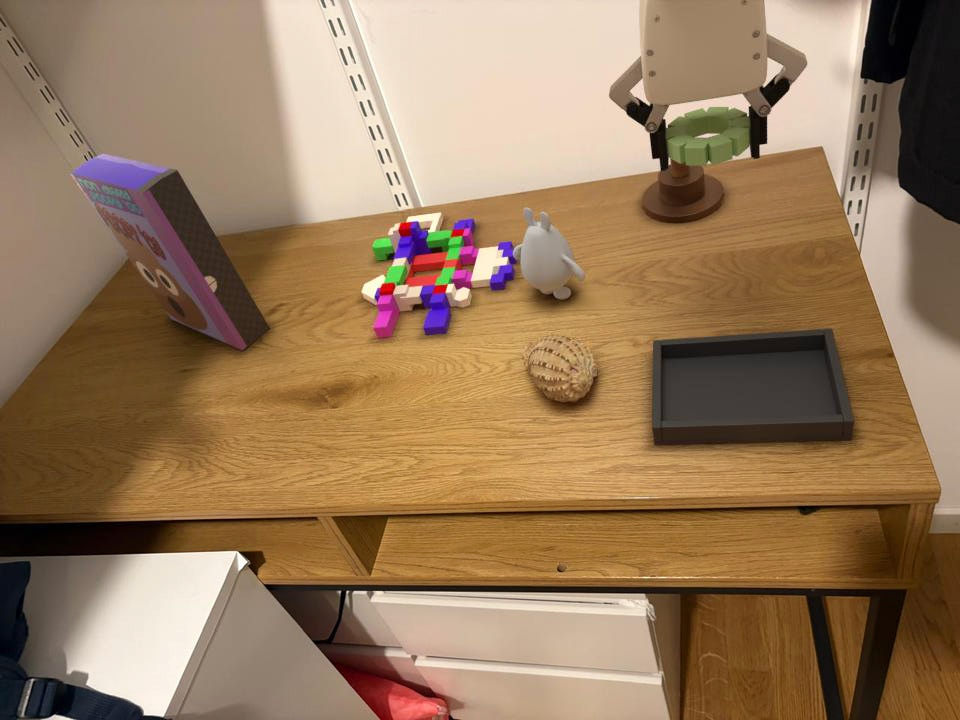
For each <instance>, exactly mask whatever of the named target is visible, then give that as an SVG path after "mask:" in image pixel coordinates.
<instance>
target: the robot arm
mask: <svg viewBox="0 0 960 720" xmlns="http://www.w3.org/2000/svg"><path fill="white" fill-rule="evenodd" d="M638 5H639V6H638V7H639V8H638V17H639V19H638V20H639V22H638V23H639V24H638V25H639V45H640V47H639V48H640V49H639V50H640V56H639V57H638V58H637V59H635V61H634V62H633V63H632V64H631V65H630V66H629V67H628V68H627V69H626V70H625V71H624V72H623V73H622V74H621V75H620V76H619V77H618V78H617V79H616V80H615V81H614V82H613V83H612V84H611V85H610V87H609V93H608V97H609V100H611V102H613V103H614V104H616V105H617V106H618V107H619V108H620V109H621V110H623V111H624V112H625V113H626V115H627V116H628V117H629V118H630V119H632V120H633V121H635V122H636V123H638V124H639V125H641V126H642V127H643V128H644V130H645V131H646V132H647V133H648V134H649V135H648V136H649V142H650V143H649V144H650V151H651V159H652V160H659V169H660V171H666V169H668V168H669V165H670V164H669V161H670V158H669V155H667V146H666V128H667V122H666V118H664V117H665V116H666V113H667V111H668V109H669V107H670V106H673V105H674V106H675V105H681V104H688V103H695V102H700V101H701V102H702V101H707V100H712V99H719V98H726V97H732V96H738V95H742V96H743V97H744V98H745V99H746V101H747V103H749V105H748V116H749V119H750V131H751V143H749V151H750V158H751V159H753V160H758V159H760V158H761V151H760V150H761V149H760V147H761V145H763V146H764V145H768V116H769V115H770V114H771V112H772V109H773V107H775V105H777V103H779V102H780V100H782V98H784V97H785V95H786V94H787V93H788V92H789V91H790V89H791V86H792V85H793V84H794V83H795V82H796V81H797V79H798V78H799V77H800V75H802V73H803V72H804V70H805V69H806V68H807V66H808V60H807V56H806V54H805V53H804V52H802V51H800V50H798V49H797V48H795V47H793V46H791V45H789V44H788V43H785V42H783V41H782V40H780V39H778V38H776V37H774V36H773V35H771V34H769V33H768V32H767V17H766V5H765V0H639V4H638ZM768 59H770V60H772V61H774V62H776V63H778V64H779V65H781V66H782V68H781V69H780V71H779V72H778V73H777V74H776V75H775V76H774V77H773V78H771V80H770V81H769V82H768V83H766V81H767V75H768ZM640 81H642V84H643V90H644V94H645V99H646V101H647V102H648V103H649V104H648V103H646V102H645V101H643V100H642V99H640V98H639V97H637V96H635V95H634V94H633V93H632V92H631V90H632V89H633V88H635V86H637V85H638V83H640ZM765 83H766V85H765V86H764V84H765Z"/></svg>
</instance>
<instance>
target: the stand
mask: <svg viewBox="0 0 960 720" xmlns="http://www.w3.org/2000/svg"><path fill="white" fill-rule="evenodd" d="M669 161H670V164H669V168H668V169H666V171H661V170H660V171H659V172H658V173H657V180H656V181H655V182H653V183H652V184H650V185H649V186H648V187H647V188H646V190H645V191H644V192H643V195H642V207H643V210H644V212H645V213H646V215H647V216H649V217H650V218H652V219H653V220H656V221H658V222H662V223H669V224H681V223H689V222H694V221H697V220H700V219H703V218H706V217H708V216H709V215H711V214H713V213H714V212H715V211H717V210H718V209H719V208H720V206H721V205H722V203H723V201H724V187H723V184H722V183H721V181H719V180H718V179H717V178H715V177H714V176H711V175H709V174H706V173H705V169H704V166H690V165H686V162H684V163H682V164H680V163H678V162H676V161H674V160H672V159H671V158H669Z"/></svg>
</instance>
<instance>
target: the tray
mask: <svg viewBox="0 0 960 720" xmlns="http://www.w3.org/2000/svg"><path fill="white" fill-rule="evenodd" d="M846 385H847V384H846V380H845V377H844V372H843V368H842V363H841V359H840V355H839V351H838V347H837V342H836V338H835V334H834V329H833V328H820V329H819V328H818V329H805V330H803V329H802V330H790V331H788V330H787V331H774V332H773V331H772V332H757V333H741V334H727V335H712V336H698V337H697V336H696V337H682V338H681V337H680V338H668V339H654V340H652V389H651V390H652V395H651V401H652V402H651V429H652V437H653V444H654V445H655V446H665V445H666V446H668V445H707V444H710V445H711V444H744V443H745V444H746V443H748V444H749V443H782V442H783V443H784V442H785V443H786V442H790V443H791V442H824V441H827V442H829V441H830V442H831V441H852V440H853V433H854V425H855V419H854V418H855V417H854V414H853V409H852V405H851V401H850V398H849V397H850V396H849V394H848V393H849V392H848V389H847V386H846Z"/></svg>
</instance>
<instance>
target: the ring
mask: <svg viewBox="0 0 960 720" xmlns="http://www.w3.org/2000/svg"><path fill="white" fill-rule="evenodd" d="M708 134H709V135H711V136H708V137H701V136H704V135H708ZM712 134H713V135H712ZM749 143H751V131H750V119H749V115H748V113H747V112H745V111H743V110H741V109H738V108H736V107H733V108H730V109H729V106H709V107H708V108H707V109H706V110H705V109H704V107H702V108H699V109H695V110H692V111H689V112H688V111H687V112H685V113H683V116H681V115H679V116H677V117H676V118H675V119H674V120H672V121H671V122H670V123H668V124H667V127H666V146H667V155H669V159H670V158H671V159H672V160H674V161H676V162H678V163H680V164H682V163H684V162H686V165H690V166H702V167H707V164H708V163H710V164H711V165H712V166H714V165H718V164H721V163H724V162H728V161H732V160H733V156H734V157H739V156H740V155H741V154H743V153H744V152H746V150H747V149H748V148H750V144H749Z"/></svg>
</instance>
